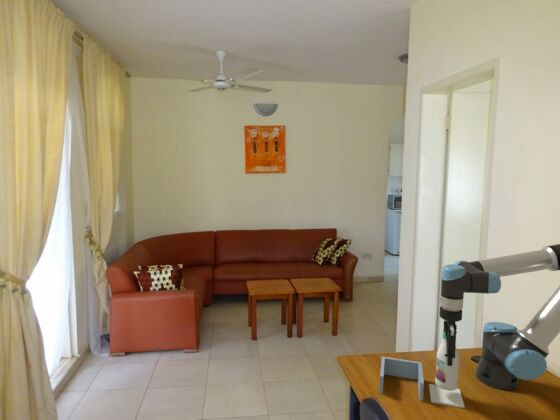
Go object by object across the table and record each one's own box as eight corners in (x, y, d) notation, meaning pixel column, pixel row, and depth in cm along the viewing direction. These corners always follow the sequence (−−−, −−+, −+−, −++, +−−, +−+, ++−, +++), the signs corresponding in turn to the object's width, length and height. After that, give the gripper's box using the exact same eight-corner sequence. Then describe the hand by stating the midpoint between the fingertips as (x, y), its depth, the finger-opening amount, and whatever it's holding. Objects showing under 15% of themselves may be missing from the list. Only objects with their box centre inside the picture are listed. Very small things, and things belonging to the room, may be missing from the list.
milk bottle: (454, 380, 143) (457, 330, 141) (459, 392, 136) (463, 339, 133) (433, 378, 145) (436, 328, 142) (437, 389, 137) (440, 337, 135)
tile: (459, 390, 144) (459, 388, 144) (464, 408, 134) (464, 406, 134) (428, 385, 148) (428, 383, 147) (431, 402, 137) (431, 400, 137)
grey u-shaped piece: (420, 378, 152) (421, 362, 152) (422, 401, 138) (423, 383, 137) (381, 372, 157) (381, 356, 156) (379, 393, 142) (380, 375, 142)
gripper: (437, 297, 148) (433, 352, 150) (443, 316, 128) (439, 380, 131) (458, 299, 145) (454, 355, 148) (467, 319, 126) (462, 384, 129)
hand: (447, 367), depth 139 cm, fingers closed on milk bottle, 8 cm apart
